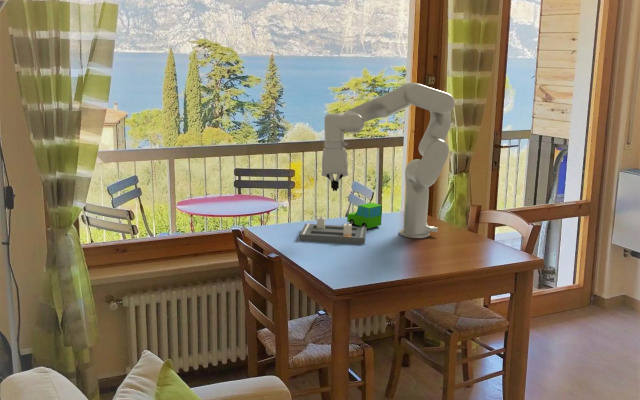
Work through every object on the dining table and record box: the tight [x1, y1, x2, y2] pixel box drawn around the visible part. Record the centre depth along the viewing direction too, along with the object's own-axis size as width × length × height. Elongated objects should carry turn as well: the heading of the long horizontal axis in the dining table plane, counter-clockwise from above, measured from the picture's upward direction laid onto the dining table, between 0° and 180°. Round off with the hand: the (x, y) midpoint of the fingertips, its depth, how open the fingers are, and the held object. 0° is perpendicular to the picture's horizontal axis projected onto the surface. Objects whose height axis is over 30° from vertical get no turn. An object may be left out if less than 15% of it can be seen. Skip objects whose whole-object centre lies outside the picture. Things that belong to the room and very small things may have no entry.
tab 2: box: [343, 222, 352, 235], centre depth 255 cm, size 3×3×5 cm
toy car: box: [346, 202, 383, 230], centre depth 277 cm, size 10×13×10 cm
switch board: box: [298, 222, 368, 245], centre depth 261 cm, size 26×16×3 cm, turn 83°
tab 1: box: [316, 216, 326, 229], centre depth 264 cm, size 3×3×5 cm
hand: (335, 190), depth 257 cm, fingers closed
